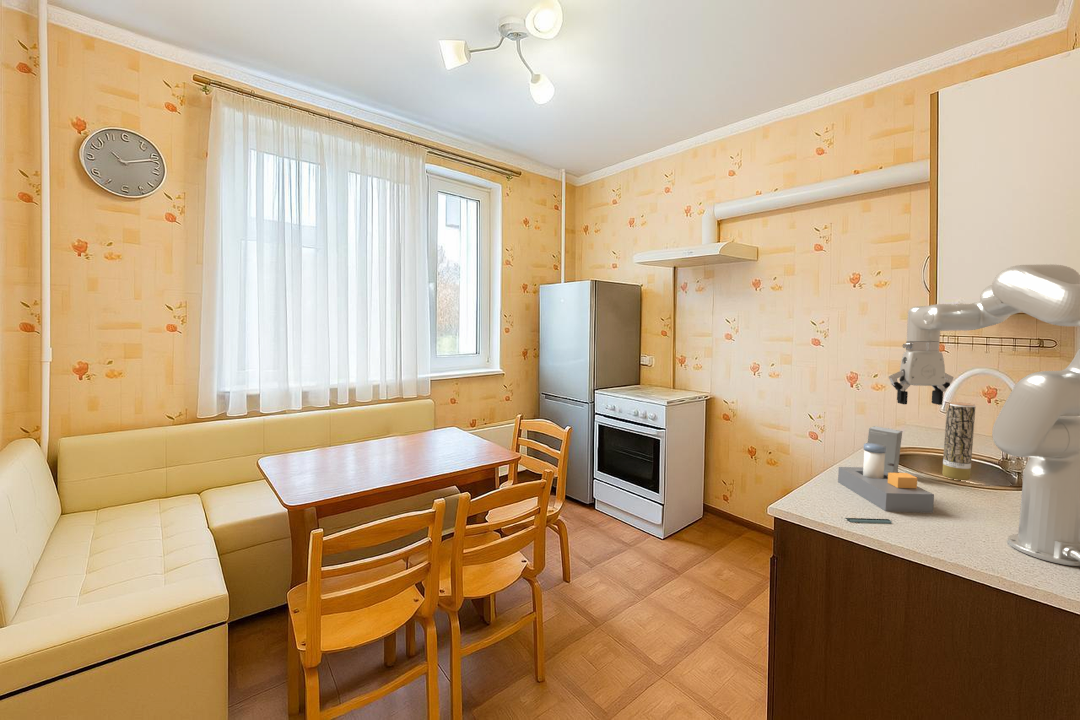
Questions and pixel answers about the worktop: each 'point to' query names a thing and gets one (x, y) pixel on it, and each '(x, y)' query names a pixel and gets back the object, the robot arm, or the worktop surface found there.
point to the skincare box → (887, 445)
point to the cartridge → (874, 460)
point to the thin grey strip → (869, 520)
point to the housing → (886, 492)
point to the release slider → (902, 480)
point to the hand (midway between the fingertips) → (919, 403)
